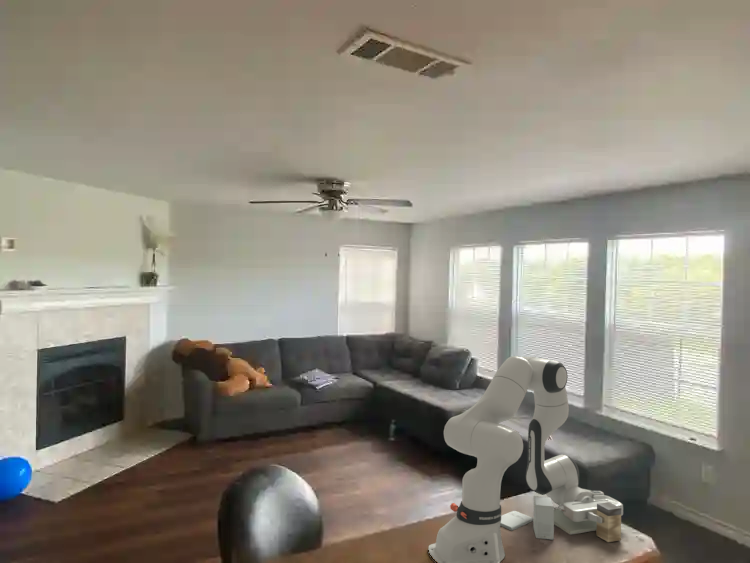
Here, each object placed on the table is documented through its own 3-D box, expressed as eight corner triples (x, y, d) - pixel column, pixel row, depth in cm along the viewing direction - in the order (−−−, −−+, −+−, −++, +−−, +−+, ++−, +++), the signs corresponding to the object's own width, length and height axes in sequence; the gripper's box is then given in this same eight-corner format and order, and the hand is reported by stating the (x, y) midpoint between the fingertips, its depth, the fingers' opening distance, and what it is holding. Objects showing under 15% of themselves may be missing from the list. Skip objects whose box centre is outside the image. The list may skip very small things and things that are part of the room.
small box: (553, 540, 168) (554, 506, 168) (535, 538, 169) (535, 504, 170) (550, 529, 176) (551, 497, 176) (533, 527, 177) (533, 495, 177)
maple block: (608, 542, 167) (608, 509, 167) (596, 535, 172) (596, 503, 172) (620, 540, 169) (621, 508, 169) (609, 533, 173) (609, 502, 173)
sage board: (570, 534, 173) (570, 531, 173) (539, 514, 188) (539, 511, 188) (609, 528, 178) (610, 525, 178) (576, 509, 193) (577, 506, 193)
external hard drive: (491, 523, 181) (513, 514, 189) (511, 532, 175) (533, 522, 183) (491, 518, 181) (513, 509, 189) (511, 527, 175) (533, 517, 183)
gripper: (555, 496, 179) (584, 513, 166) (604, 490, 186) (636, 505, 173) (554, 515, 179) (583, 533, 166) (604, 508, 186) (635, 525, 173)
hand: (610, 519), depth 169 cm, fingers closed on maple block, 5 cm apart
